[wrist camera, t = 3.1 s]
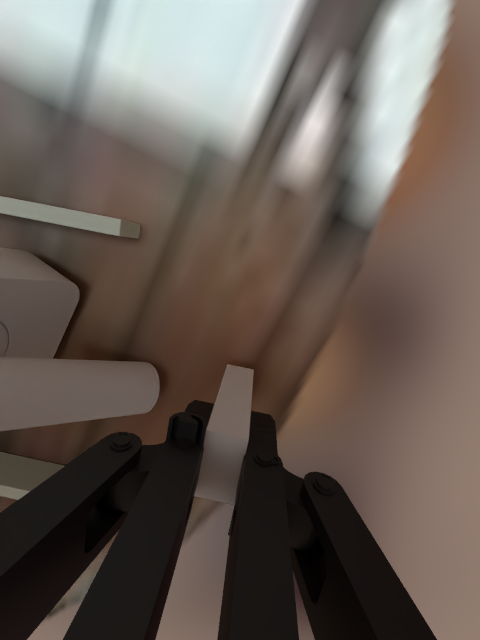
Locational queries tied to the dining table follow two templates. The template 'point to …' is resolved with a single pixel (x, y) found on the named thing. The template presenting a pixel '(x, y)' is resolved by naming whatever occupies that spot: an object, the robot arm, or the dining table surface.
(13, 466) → the keeper channel
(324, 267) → the dining table surface
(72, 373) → the wall hook
